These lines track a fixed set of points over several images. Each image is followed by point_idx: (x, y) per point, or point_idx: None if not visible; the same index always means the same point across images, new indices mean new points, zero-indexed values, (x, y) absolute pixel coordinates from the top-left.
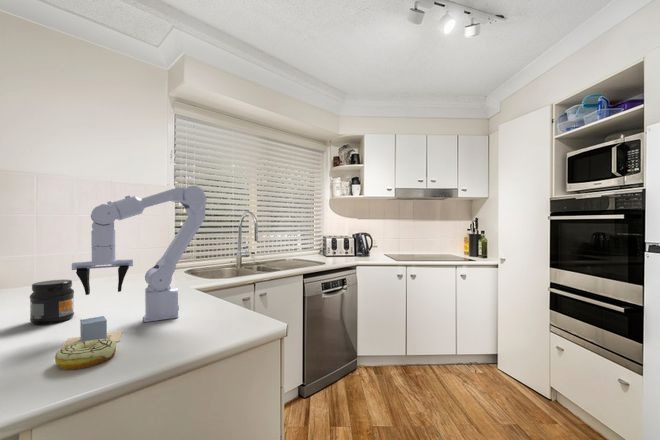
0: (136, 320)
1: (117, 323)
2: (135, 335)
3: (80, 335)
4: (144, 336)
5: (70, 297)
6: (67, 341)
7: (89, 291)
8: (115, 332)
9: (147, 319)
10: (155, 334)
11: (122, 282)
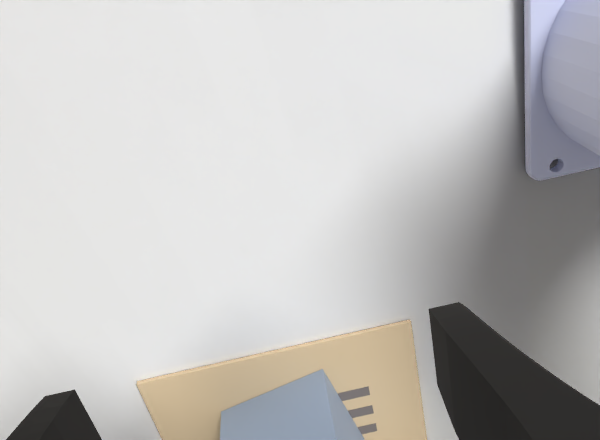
0: (463, 79)
1: (327, 124)
2: None
3: (221, 429)
4: None
5: None
6: (165, 426)
7: (74, 430)
8: (378, 347)
9: (556, 149)
10: None
11: (539, 376)
